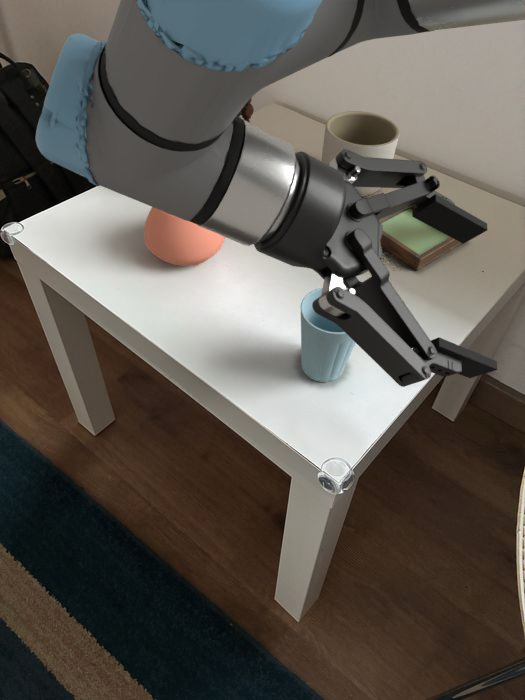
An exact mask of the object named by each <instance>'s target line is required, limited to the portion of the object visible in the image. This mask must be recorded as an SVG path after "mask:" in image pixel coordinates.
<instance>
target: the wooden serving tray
mask: <svg viewBox="0 0 525 700" xmlns="http://www.w3.org/2000/svg"><path fill="white" fill-rule="evenodd" d="M416 207H417V206H415V205H413V206H412V207H410V208H407V209H405V210H402V211H399V212H397V213H394V214H391V215H389V216H386V217H384V218H381V219H378V220H379V223H380V224H381V225H383V234H382V237H381V240H380V242H381V247H382V249H384V250H385V251H387V252H388V253H390V254H391V255H392V256H394V257H395V258H397V259H399V260H400V261H402V262H403V263H404V264H406V265H407V266H409V267H410V268H412V269H413V270H414V271H416V272H418V271H419V270H421V269H423V268H424V267H426V266H428V265H429V264H431V263H432V262H434V261H436V260H438V259H439V258H441V257H442V256H444V255H446V254H447V253H450V252H452V250H454V249H456V248H457V247H459V246H460V245H462V244H463V243H461V242H459V241H457V240H455V239H453V238H451V237H450V236H448V235H446V234H444V233H442V232H440V231H438V230H436V229H435V228H433V227H431V226H429V225H427V224H425V223H423V222H421V221H420V220H418V219H416V218H414V217H412V210H413V209H415V208H416Z"/></svg>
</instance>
